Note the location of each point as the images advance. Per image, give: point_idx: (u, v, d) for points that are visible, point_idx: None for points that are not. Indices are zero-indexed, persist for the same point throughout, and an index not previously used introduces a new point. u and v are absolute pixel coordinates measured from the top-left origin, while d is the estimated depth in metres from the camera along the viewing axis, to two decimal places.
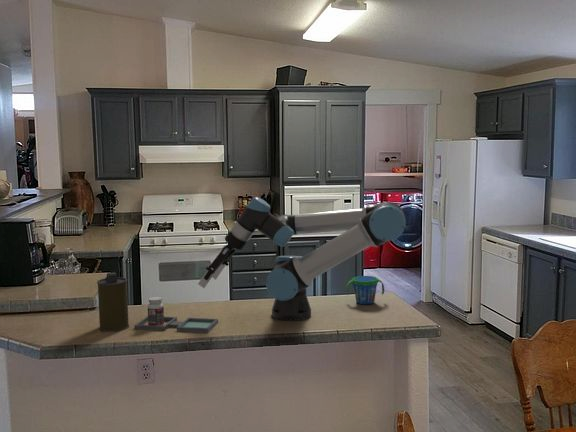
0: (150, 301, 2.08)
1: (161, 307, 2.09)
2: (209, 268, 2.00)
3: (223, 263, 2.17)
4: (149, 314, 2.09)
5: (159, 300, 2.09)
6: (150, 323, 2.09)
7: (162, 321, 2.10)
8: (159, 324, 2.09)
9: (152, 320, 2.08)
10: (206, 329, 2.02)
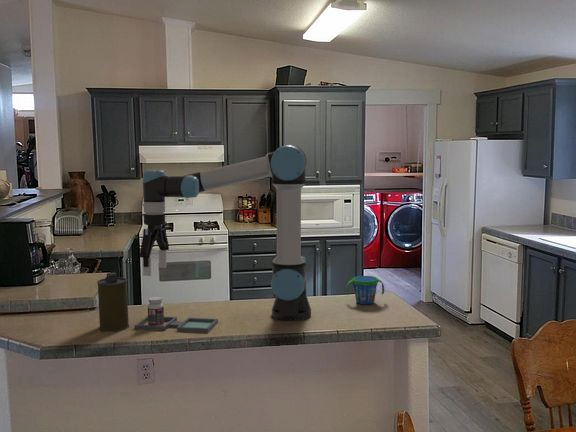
0: (150, 301, 2.08)
1: (161, 307, 2.09)
2: (141, 253, 1.98)
3: (163, 249, 2.15)
4: (149, 314, 2.09)
5: (159, 300, 2.09)
6: (150, 323, 2.09)
7: (162, 321, 2.10)
8: (159, 324, 2.09)
9: (152, 320, 2.08)
10: (206, 329, 2.02)
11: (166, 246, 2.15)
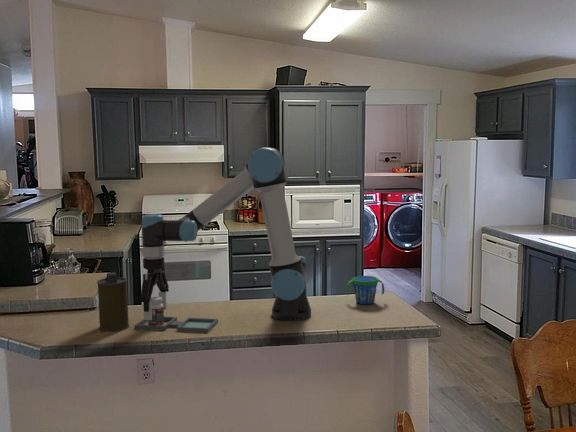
0: (150, 301, 2.08)
1: (161, 307, 2.09)
2: (141, 299, 2.00)
3: (163, 291, 2.17)
4: None
5: (159, 300, 2.09)
6: (150, 323, 2.09)
7: (162, 321, 2.10)
8: (159, 324, 2.09)
9: (152, 320, 2.08)
10: (206, 329, 2.02)
11: (166, 288, 2.17)
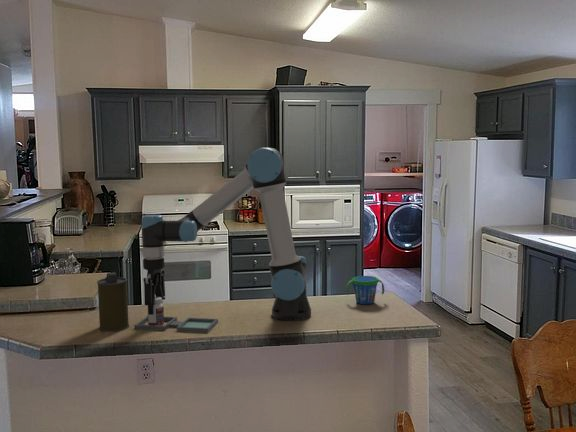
0: None
1: (161, 307, 2.09)
2: (146, 302, 2.04)
3: None
4: None
5: (159, 300, 2.09)
6: (150, 323, 2.09)
7: (162, 321, 2.10)
8: (159, 324, 2.09)
9: None
10: (206, 329, 2.02)
11: (163, 296, 2.14)
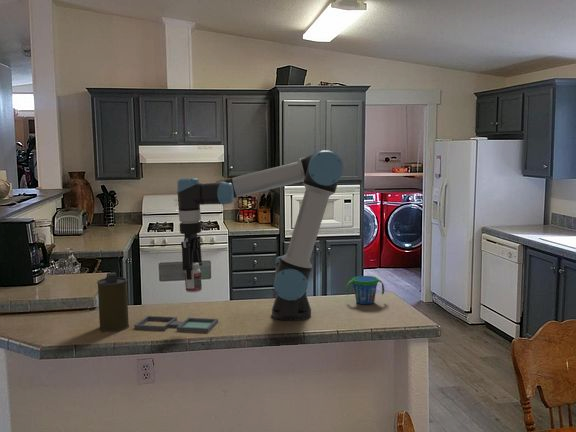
0: None
1: (199, 272, 2.05)
2: (184, 266, 2.00)
3: None
4: None
5: (196, 265, 2.05)
6: (188, 289, 2.05)
7: (200, 286, 2.06)
8: (197, 289, 2.05)
9: None
10: (206, 329, 2.02)
11: (199, 262, 2.10)
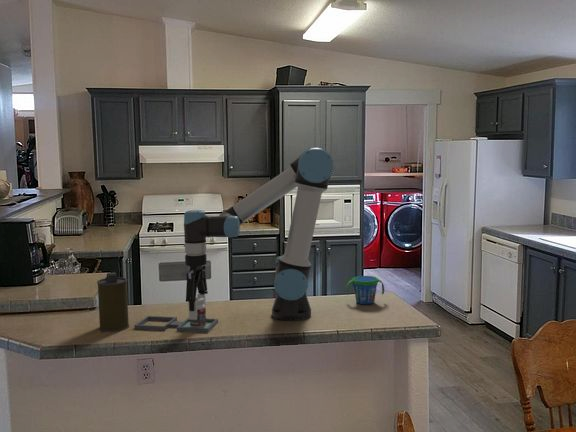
0: None
1: (203, 308, 2.06)
2: (187, 298, 1.99)
3: (202, 293, 2.12)
4: None
5: (201, 301, 2.06)
6: (192, 324, 2.06)
7: (204, 322, 2.07)
8: (201, 325, 2.06)
9: (194, 321, 2.05)
10: (206, 329, 2.02)
11: (205, 290, 2.12)
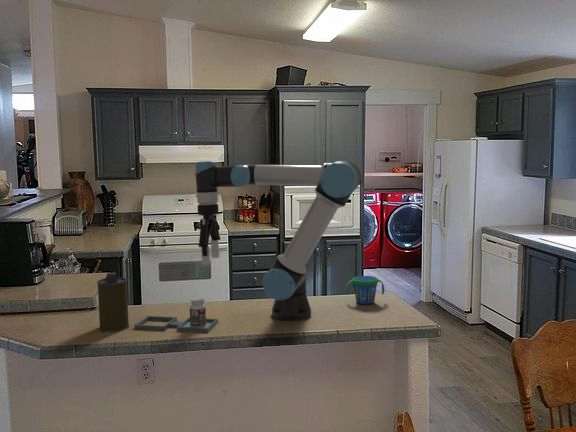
0: (193, 302, 2.06)
1: (203, 308, 2.06)
2: (200, 243, 2.02)
3: (215, 239, 2.19)
4: (191, 315, 2.06)
5: (202, 301, 2.06)
6: (192, 324, 2.06)
7: (204, 322, 2.07)
8: (201, 325, 2.06)
9: (194, 321, 2.05)
10: (206, 329, 2.02)
11: (218, 236, 2.19)
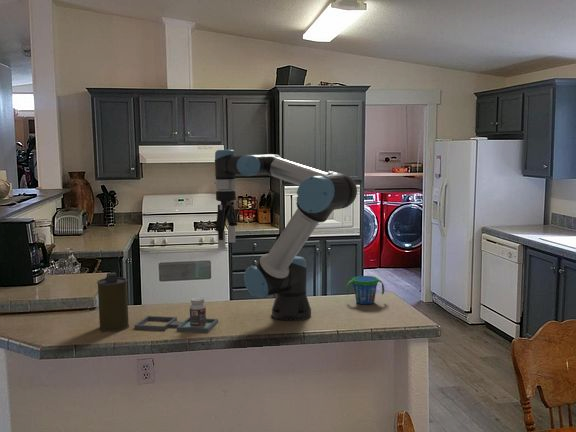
0: (193, 302, 2.06)
1: (203, 308, 2.06)
2: (217, 227, 2.12)
3: (232, 225, 2.29)
4: (191, 315, 2.06)
5: (202, 301, 2.06)
6: (192, 324, 2.06)
7: (204, 322, 2.07)
8: (201, 325, 2.06)
9: (194, 321, 2.05)
10: (206, 329, 2.02)
11: (235, 222, 2.29)
